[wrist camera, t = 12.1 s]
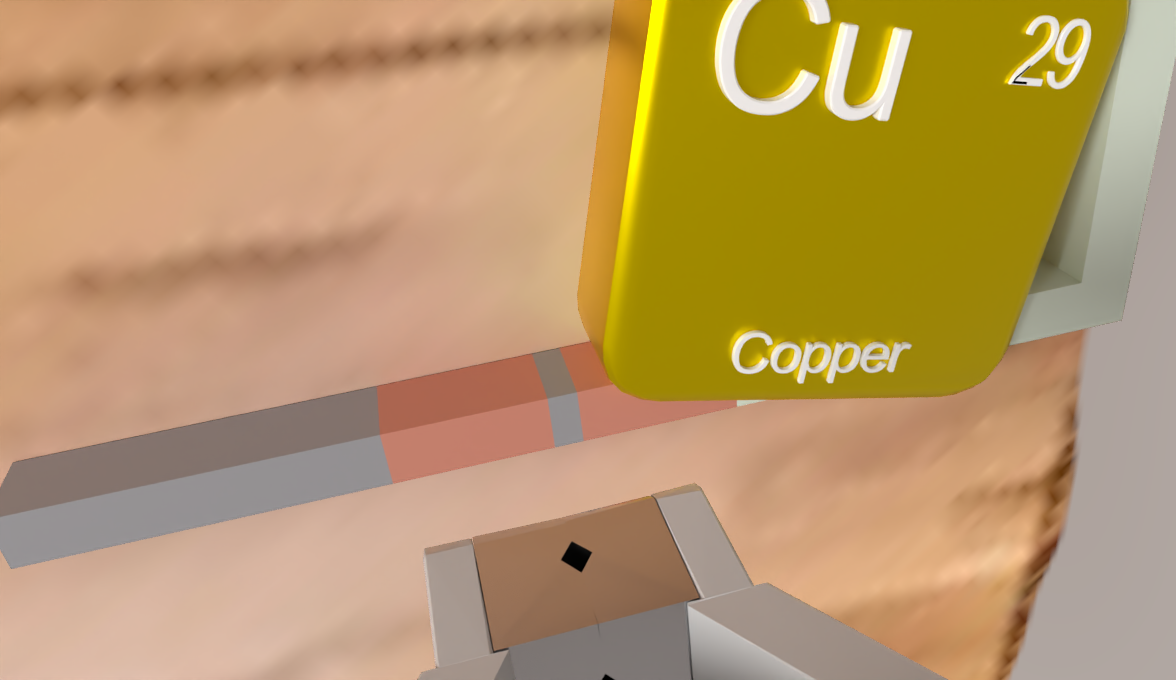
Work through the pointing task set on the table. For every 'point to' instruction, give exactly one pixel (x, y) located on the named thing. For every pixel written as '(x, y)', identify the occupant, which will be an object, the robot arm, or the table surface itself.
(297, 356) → the table surface
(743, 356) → the element tile
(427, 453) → the trap track
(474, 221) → the table surface
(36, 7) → the table surface
